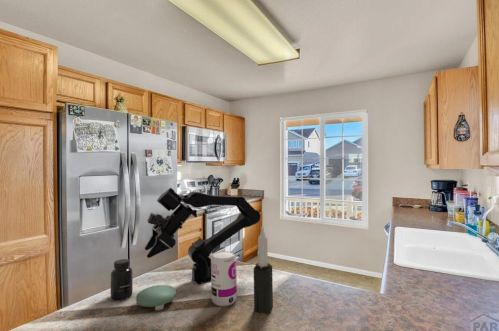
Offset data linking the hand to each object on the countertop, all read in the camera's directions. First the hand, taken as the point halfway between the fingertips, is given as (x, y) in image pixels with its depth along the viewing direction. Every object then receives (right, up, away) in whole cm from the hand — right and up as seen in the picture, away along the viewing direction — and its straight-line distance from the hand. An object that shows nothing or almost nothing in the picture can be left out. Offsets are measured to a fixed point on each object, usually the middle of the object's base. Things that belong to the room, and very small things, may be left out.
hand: (146, 253), depth 94 cm
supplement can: (+28, -13, -7) cm, 32 cm away
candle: (+41, -13, -13) cm, 45 cm away
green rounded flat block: (+6, -13, -8) cm, 17 cm away
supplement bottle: (-7, -14, -3) cm, 16 cm away
